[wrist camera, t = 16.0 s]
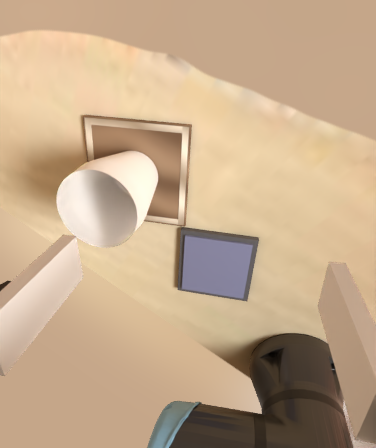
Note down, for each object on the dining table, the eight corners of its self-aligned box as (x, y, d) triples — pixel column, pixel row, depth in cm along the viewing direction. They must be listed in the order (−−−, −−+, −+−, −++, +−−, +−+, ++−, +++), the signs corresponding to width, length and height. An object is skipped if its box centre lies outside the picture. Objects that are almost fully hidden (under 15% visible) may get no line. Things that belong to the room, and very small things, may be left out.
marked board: (185, 224, 45) (184, 226, 44) (94, 212, 47) (92, 214, 46) (191, 124, 38) (190, 125, 38) (85, 114, 40) (82, 115, 40)
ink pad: (247, 297, 49) (247, 302, 48) (178, 286, 50) (177, 291, 49) (258, 237, 44) (258, 241, 43) (182, 227, 45) (180, 231, 44)
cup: (180, 180, 41) (157, 219, 31) (135, 216, 45) (100, 262, 34) (133, 126, 39) (91, 148, 29) (90, 169, 43) (38, 202, 32)
